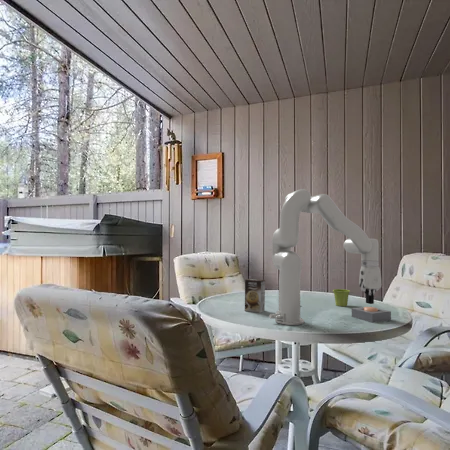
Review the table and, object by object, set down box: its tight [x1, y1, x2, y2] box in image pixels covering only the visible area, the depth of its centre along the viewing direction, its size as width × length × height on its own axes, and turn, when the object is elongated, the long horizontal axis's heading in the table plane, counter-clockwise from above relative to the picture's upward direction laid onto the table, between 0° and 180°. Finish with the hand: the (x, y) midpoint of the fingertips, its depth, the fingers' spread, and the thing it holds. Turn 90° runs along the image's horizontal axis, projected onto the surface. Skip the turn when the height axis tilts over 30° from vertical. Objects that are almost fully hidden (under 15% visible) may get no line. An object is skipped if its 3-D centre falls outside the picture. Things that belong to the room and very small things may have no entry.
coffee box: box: [244, 278, 266, 314], centre depth 164 cm, size 9×6×16 cm
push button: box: [363, 306, 379, 312], centre depth 149 cm, size 6×6×3 cm
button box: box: [351, 306, 392, 323], centre depth 149 cm, size 12×12×4 cm
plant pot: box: [332, 288, 351, 307], centre depth 180 cm, size 9×9×9 cm
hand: (369, 303), depth 149 cm, fingers closed
